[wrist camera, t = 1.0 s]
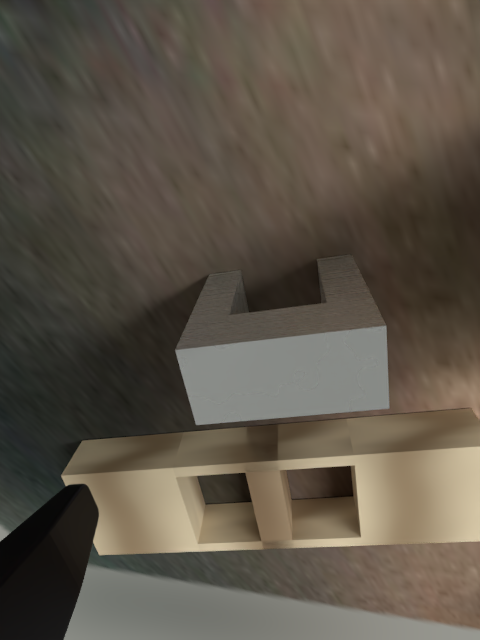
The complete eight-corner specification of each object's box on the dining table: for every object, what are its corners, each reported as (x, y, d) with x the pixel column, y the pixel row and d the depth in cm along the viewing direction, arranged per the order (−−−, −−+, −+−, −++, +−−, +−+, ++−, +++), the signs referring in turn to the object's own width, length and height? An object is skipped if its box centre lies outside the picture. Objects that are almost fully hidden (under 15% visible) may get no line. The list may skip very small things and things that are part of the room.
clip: (351, 254, 17) (386, 325, 11) (355, 315, 18) (389, 408, 13) (209, 274, 18) (174, 349, 12) (222, 331, 19) (196, 425, 14)
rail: (471, 408, 20) (495, 445, 18) (465, 498, 22) (485, 540, 20) (82, 440, 23) (60, 475, 21) (115, 516, 26) (99, 555, 23)
